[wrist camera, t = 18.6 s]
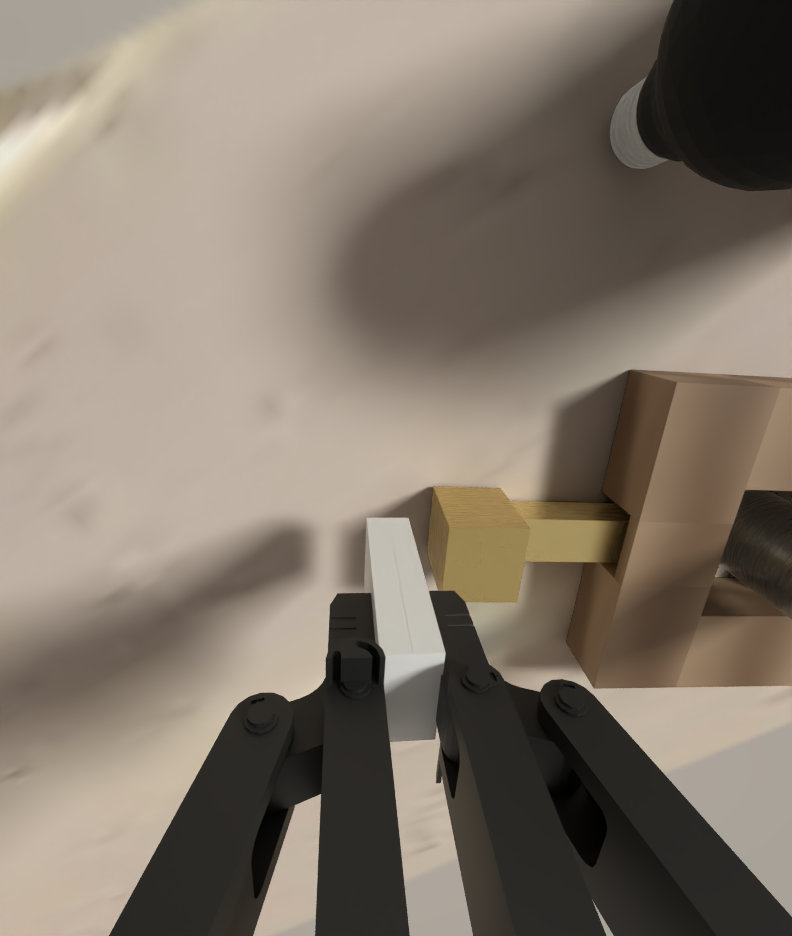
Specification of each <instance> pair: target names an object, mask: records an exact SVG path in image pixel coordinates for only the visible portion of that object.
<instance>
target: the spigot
mask: <svg viewBox="0 0 792 936" xmlns="http://www.w3.org/2000/svg"><path fill="white" fill-rule="evenodd" d="M719 566H721V567H722V568H723V569H725V570H726V571H727V572H729V573H730V574H731V575H733V576H734V577H735V578H737V579H738V580H739V581H741V582H742V583H743V584H745V585H746V586H747V587H749V588H750V589H751V590H753V591H754V592H755V593H757V594H758V595H759V596H761V597H762V598H763V599H765V600H766V601H768V602H769V603H770V604H772V605H773V606H774V607H776V608H777V609H778V610H780V611H781V612H782V613H784V614H785V615H786V616H788V617H789V618H790V619H792V502H790V501H788V500H786V499H784V498H782V497H780V496H778V495H776V494H773V493H771V492H769V491H767V490H745V492H744V495H743V497H742V500H741V503H740V506H739V509H738V512H737V515H736V517H735V520H734V523H733V526H732V529H731V532H730V535H729V537H728V540H727V543H726V546H725V549H724V552H723V554H722V557H721V560H720V563H719Z"/></svg>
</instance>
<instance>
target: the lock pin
mask: <svg viewBox="0 0 792 936" xmlns="http://www.w3.org/2000/svg"><path fill="white" fill-rule="evenodd" d="M630 516H631V515H630V514H629V513H627V512H626V511H625V510H624V509H622V508H621V507H620V506H619V505H617V504H615V503H575V502H535V501H510V500H509V499H508V498H507V496H506V495H505V494H504V492H503V491H502V490H501V488H476V487H440V486H433V494H432V505H431V515H430V525H429V536H428V546H427V552H428V556H429V560H430V563H431V567H432V571H433V574H434V578H435V582H436V586H437V589H438V591H455V592H456V593H457V594H458V595H459V596H460V597H461V598H462V599H463V600H464V601H465V602H517V600H518V595H519V589H520V584H521V579H522V573H523V568H524V562H525V561H528V562H609V563H618V562H619V558H620V554H621V550H622V547H623V543H624V539H625V535H626V531H627V528H628V524H629V520H630Z"/></svg>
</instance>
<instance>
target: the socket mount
mask: <svg viewBox="0 0 792 936" xmlns="http://www.w3.org/2000/svg"><path fill="white" fill-rule="evenodd" d="M745 490H774V491H792V378H777V377H759V376H740V375H721V374H703V373H684V372H666V371H647V370H630V373H629V377H628V382H627V386H626V390H625V394H624V399H623V403H622V407H621V411H620V416H619V420H618V424H617V428H616V433H615V437H614V441H613V445H612V450H611V454H610V458H609V462H608V467H607V471H606V475H605V479H604V484H603V488H602V492H603V493H604V494H605V495H606V496H608V497H609V498H610V499H611V500H612V501H614V502H615V503H616V504H617V505H619V506H620V507H621V508H622V509H624V510H625V511H626V512H627V513H629V514H630V515H631V516H630V520H629V524H628V528H627V531H626V535H625V539H624V543H623V547H622V550H621V554H620V558H619V562H618V563H609V562H585V565H584V569H583V573H582V577H581V582H580V586H579V590H578V595H577V599H576V603H575V607H574V612H573V616H572V620H571V624H570V629H569V633H568V637H567V641H566V643H567V645H568V646H569V648H570V650H571V651H572V653H573V655H574V656H575V658H576V660H577V661H578V663H579V664H580V666H581V668H582V669H583V671H584V673H585V674H586V676H587V678H588V679H589V681H590V683H591V684H592V686H593V688H660V687H729V686H792V619H790V618H789V617H788V616H786V615H785V614H784V613H782V612H781V611H780V610H778V609H777V608H776V607H774V606H773V605H772V604H770V603H769V602H768V601H766V600H765V599H763V598H762V597H761V596H759V595H758V594H757V593H755V592H754V591H753V590H751V589H750V588H749V587H747V586H746V585H745V584H743V583H742V582H741V581H739V580H738V579H737V578H714V577H715V574H716V572H717V569H718V566H719V563H720V560H721V557H722V554H723V552H724V549H725V546H726V543H727V540H728V537H729V535H730V532H731V529H732V526H733V523H734V520H735V517H736V515H737V512H738V509H739V506H740V503H741V500H742V497H743V495H744V492H745Z"/></svg>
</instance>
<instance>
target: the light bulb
mask: <svg viewBox="0 0 792 936" xmlns="http://www.w3.org/2000/svg"><path fill="white" fill-rule="evenodd" d="M610 140H611V147H612V149H613V152H614V154H615V156H616V157H617V158H618V160H620V161H621V162H622V163H623V164H624V165H626V166H628V167H630V168H636V169H646V168H651V167H654V166H656V165H658V164H661V163H663V162H666V161H668V160H673V161H683V162H684V163H685V165H686V166H687V167H689V168H690V169H691V170H693V171H694V172H696V173H697V174H698V175H700V176H701V177H704V178H706V179H708V180H710V181H712V182H715V183H718V184H720V185H723V186H726V187H730V188H735V189H740V190H746V191H764V190H782V189H790V188H792V0H674V1H673V4H672V6H671V8H670V11H669V13H668V16H667V19H666V22H665V25H664V29H663V32H662V35H661V40H660V46H659V51H658V58H657V60H656V62H655V63H654V65H653V67H652V69H651V71H650V72H649V74H648V75H647V76H646V77H645V78H644V79H643V80H641V81H640V82H639V83H638V84H636V85H635V86H633V87H632V88H631V89H630V90H629V91H627V92H626V93H625V94H624V95H623V96H622V98H621V99H620V101H619V103H618V104H617V106H616V109H615V111H614V114H613V117H612V121H611V127H610Z"/></svg>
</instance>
